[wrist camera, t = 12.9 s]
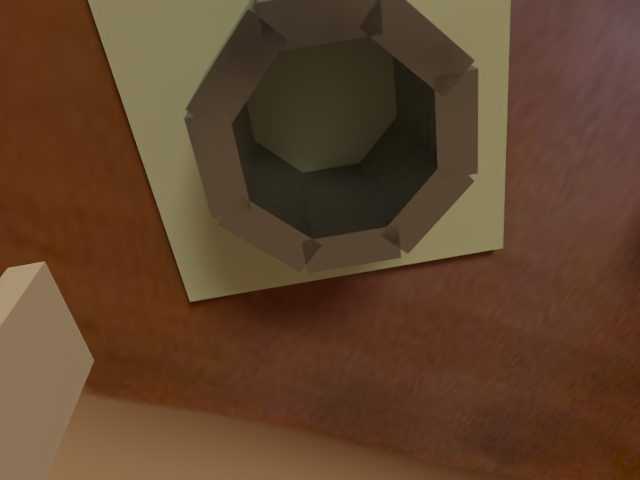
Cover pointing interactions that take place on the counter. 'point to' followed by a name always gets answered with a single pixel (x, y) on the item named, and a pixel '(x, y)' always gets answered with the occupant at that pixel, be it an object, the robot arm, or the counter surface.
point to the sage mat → (294, 125)
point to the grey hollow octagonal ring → (350, 180)
